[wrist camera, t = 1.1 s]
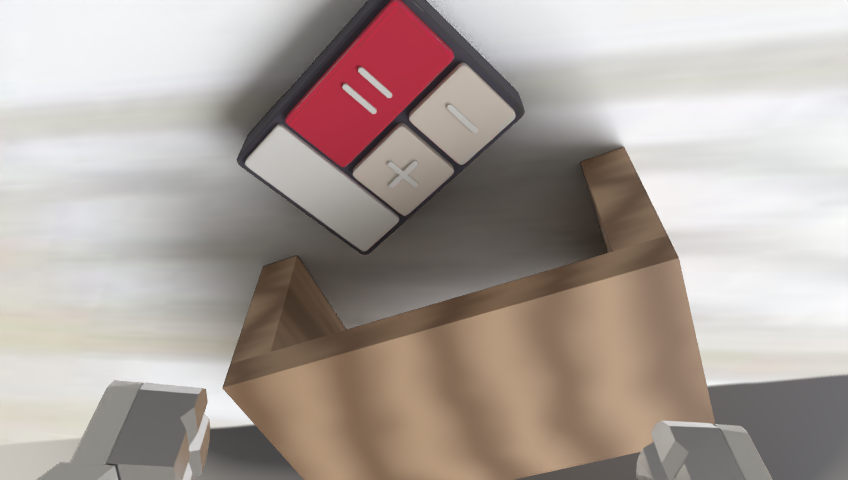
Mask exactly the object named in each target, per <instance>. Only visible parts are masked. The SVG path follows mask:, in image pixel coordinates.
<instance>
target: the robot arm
mask: <svg viewBox="0 0 848 480" xmlns="http://www.w3.org/2000/svg"><path fill="white" fill-rule="evenodd" d="M207 402H208V401H207V394H206V389H203V388H193V387H183V386H173V385H162V384H152V383H140V382H128V381H116V380H114V381H113V382H112V383H111V384H110V385H109V386H108V387H107V389H106V391H105V393H104V395H103V397H102V399H101V401H100V403H99V405H98V407H97V409H96V411H95V413H94V415H93V417H92V419H91V421H90V423H89V425H88V427H87V429H86V431H85V433H84V435H83V437H82V439H81V441H80V443H79V445H78V447H77V449H76V451H75V453H74V455H73V457H72V459H71V461H70V462H60V463H59V464H57V465H56V466H54V467H53V468H52V469H50V470H49V471H47V472H46V473H45V474H43V475H42V476H41V477H39V478H38V479H37V480H194V479H195V478H197V477H198V476H199V475H200V474H201V473H202V472H203V468H204V464H205V461H206V457H207V452H208V446H209V438H210V422H209V418H208V417H207V416H206V415H204V412H205V409H206V405H207ZM651 435H652V438H653V441H654V442H652V443H651V444H649V445H647V446H646V447H644V448H643V449H642V451H641V453H640V455H639V458H638V460H637V470H636V478H637V480H772V478H771V476H770V474H769V472H768V470H767V468H766V467H765V465H764V463H763V461H762V459H761V457H760V455H759V453H758V451H757V449H756V448H755V446H754V444H753V442H752V440H751V438H750V436H749V434H748V433H747V431H746V430H745V429H744V428H743V427H741V426H734V425H720V424H711V423H697V422H679V421H662V420H661V421H660V422H658V423H657V424H655V426H654V428H653V430H652V432H651Z"/></svg>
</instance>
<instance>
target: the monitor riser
mask: <svg viewBox="0 0 848 480" xmlns="http://www.w3.org/2000/svg"><path fill="white" fill-rule="evenodd" d="M581 165H582V169H583V172H584V175H585V179H586V182H587V185H588V189H589V192H590V195H591V199H592V202H593V205H594V209H595V212H596V215H597V219H598V222H599V225H600V229H601V232H602V235H603V239H604V242H605V245H606V248H607V252H608V253H606V254H603V255H599V256H596V257H592V258H589V259H586V260H582V261H579V262H575V263H572V264H569V265H565V266H562V267H558V268H555V269H552V270H548V271H545V272H541V273H538V274H535V275H531V276H528V277H524V278H521V279H518V280H514V281H511V282H507V283H504V284H501V285H497V286H494V287H490V288H487V289H484V290H480V291H477V292H473V293H470V294H467V295H463V296H460V297H456V298H453V299H450V300H446V301H443V302H439V303H436V304H433V305H429V306H426V307H422V308H419V309H416V310H412V311H409V312H405V313H402V314H399V315H395V316H392V317H388V318H385V319H382V320H378V321H375V322H371V323H368V324H364V325H361V326H358V327H354V328H351V329H347V330H346V328H345V327H344V325H343V324H342V322H341V321H340V319H339V318H338V316H337V315H336V313H335V312H334V310H333V309H332V307H331V306H330V304H329V303H328V301H327V300H326V298H325V297H324V295H323V294H322V292H321V291H320V289H319V288H318V286H317V285H316V283H315V282H314V280H313V278H312V277H311V275H310V274H309V272H308V271H307V269H306V268H305V266H304V265H303V263H302V262H301V260H300V259H299V257H298V256H294V257H291V258H288V259H285V260H282V261H279V262H276V263H273V264H270V265H267V266H264V267H263V268H262V271H261V274H260V277H259V280H258V283H257V286H256V289H255V292H254V295H253V298H252V301H251V304H250V307H249V310H248V313H247V316H246V319H245V322H244V325H243V328H242V331H241V334H240V337H239V340H238V343H237V346H236V349H235V352H234V355H233V358H232V361H231V364H230V367H229V370H228V373H227V376H226V379H225V382H224V385H223V389H224V390H225V392H226V393H227V394H228V395H229V396H230V397H231V398H232V399H233V400H234V402H235V403H236V404H237V405H238V406H239V407H240V408H241V409H242V411H243V412H244V413H245V414H246V415H247V416H248V417H249V418H250V420H251V421H252V422H253V423H254V424H255V425H256V426H257V427H258V428H259V430H260V431H261V432H262V433H263V434H264V435H265V436H266V437H267V439H268V440H269V441H270V442H271V443H272V444H273V445H274V446H275V448H277V450H278V451H279V452H280V453H281V454H282V455H283V457H284V458H285V459H286V460H287V461H288V462H289V463H290V464H291V465H292V467H293V468H294V469H295V470H296V471H297V472H298V473H299V474H300V476H301V477H302V478H303V479H304V480H513V479H517V478H522V477H527V476H531V475H536V474H541V473H545V472H550V471H554V470H558V469H563V468H568V467H572V466H577V465H582V464H586V463H591V462H596V461H600V460H605V459H609V458H614V457H618V456H623V455H628V454H632V453H637V452H641V451H642V449H643V448H644V447H646V446H647V445H649V444H651V443H652V442H654V441H653V438H652V435H651V432H652V430H653V428H654V426H655V424H657V423H658V422H660V421H661V420H662V421H679V422H697V423H711V424H715V421H714V417H713V412H712V407H711V402H710V398H709V393H708V389H707V384H706V380H705V375H704V371H703V366H702V362H701V357H700V352H699V348H698V343H697V339H696V334H695V330H694V325H693V321H692V316H691V312H690V307H689V302H688V298H687V293H686V289H685V284H684V280H683V275H682V271H681V266H680V261H679V258H678V256H677V254H676V251H675V249H674V247H673V245H672V243H671V241H670V239H669V237H668V235H667V233H666V231H665V229H664V227H663V225H662V223H661V221H660V219H659V217H658V215H657V213H656V211H655V209H654V207H653V205H652V203H651V201H650V199H649V197H648V195H647V192H646V190H645V188H644V186H643V184H642V182H641V180H640V178H639V176H638V174H637V172H636V170H635V168H634V166H633V164H632V162H631V160H630V158H629V156H628V154H627V152H626V150H625V148H624V147H623V148H620V149H617V150H614V151H611V152H608V153H605V154H602V155H599V156H596V157H593V158H590V159H587V160H584V161H581Z"/></svg>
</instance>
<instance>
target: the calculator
mask: <svg viewBox="0 0 848 480" xmlns="http://www.w3.org/2000/svg"><path fill="white" fill-rule="evenodd" d="M523 115H524V107H523V104H522V102H521V99H520V96H519V94H518V92H517V91H516V90H515V89H514V88H513V87H512V86H511V85H510V84H509V83H508V82H507V81H506V80H505V79H504V78H503V77H502V76H501V75H500V74H499V73H498V72H497V71H496V70H495V69H494V68H493V67H492V66H491V65H490V64H489V63H488V62H487V61H486V60H485V59H484V58H483V57H482V56H481V55H480V54H479V53H478V52H477V51H476V50H475V49H474V48H473V47H472V46H471V45H470V44H469V43H468V42H467V41H466V40H465V39H464V38H463V37H462V36H461V35H460V34H459V33H458V32H457V31H456V30H455V29H454V28H453V27H452V26H451V25H450V24H449V23H448V22H447V21H446V20H445V19H444V18H443V17H442V16H441V15H440V14H439V13H438V12H437V11H436V10H435V9H434V8H433V7H432V6H431V5H430V4H429V3H428V2H427V1H426V0H368V1H367V2H366V4H365V5H364V6H363V7H362V8H361V9H360V10H359V11H358V13H357V14H356V15H355V16H354V17H353V18H352V19H351V20H350V22H349V23H348V24H347V25H346V26H345V27H344V28H343V30H342V31H341V32H340V33H339V34H338V35H337V36H336V37H335V39H334V40H333V41H332V42H331V43H330V44H329V45H328V46H327V48H326V49H325V50H324V51H323V52H322V53H321V54H320V56H319V57H318V58H317V59H316V60H315V61H314V62H313V63H312V65H311V66H310V67H309V68H308V69H307V70H306V71H305V72H304V74H303V75H302V76H301V77H300V78H299V79H298V80H297V82H296V83H295V84H294V85H293V86H292V87H291V88H290V89H289V91H288V92H287V93H286V94H285V95H284V96H283V97H281V98H280V99H279V100H278V102H277V103H276V104H275V105H274V106H273V107H272V108H271V109H270V110H269V112H268V113H267V114H266V115H265V116H264V117H263V118H262V119H261V120H260V122H259V123H258V124H257V125H256V126H255V127H254V128H253V129H252V131H251V132H250V133H249V134H248V136H247V138H246V140H245V142H244V144H243V147H242V149H241V151H240V153H239V155H238V158H237V162H238V164H239V165H240V166H241V167H243V168H244V169H245V170H247V171H248V172H249V173H251V174H252V175H254V176H255V177H256V178H258V179H259V180H260V181H262V182H263V183H265V184H266V185H267V186H269V187H270V188H271V189H273V190H274V191H276V192H277V193H278V194H280V195H281V196H282V197H284V198H285V199H287V200H288V201H289V202H291V203H292V204H293V205H295V206H296V207H297V208H299V209H300V210H302V211H303V212H304V213H306V214H307V215H308V216H310V217H311V218H313V219H314V220H315V221H317V222H318V223H319V224H321V225H322V226H324V227H325V228H326V229H328V230H329V231H330V232H332V233H333V234H335V235H336V236H337V237H339V238H340V239H341V240H343V241H344V242H345V243H347V244H348V245H350V246H351V247H352V248H354V249H355V250H356V251H358V252H359V253H361V254H363V255H366V254H369V253H370V252H371V251H373V250H374V249H375V248H376V247H377V246H378V245H379V244H380V243H382V242H383V241H384V240H385V239H386V238H387V237H388V236H389V235H390V234H392V233H393V232H394V231H395V230H396V229H397V228H398V227H399V226H401V225H402V224H403V223H404V222H405V221H406V220H407V219H408V218H409V217H411V216H412V215H413V214H414V213H415V212H416V211H417V210H418V209H420V208H421V207H422V206H423V205H424V204H425V203H426V202H427V201H428V200H430V199H431V198H432V197H433V196H434V195H435V194H436V193H437V192H439V191H440V190H441V189H442V188H443V187H444V186H445V185H446V184H447V183H449V182H450V181H451V180H452V179H453V178H454V177H455V176H456V175H458V174H459V173H460V172H461V171H462V170H463V169H464V168H465V167H466V166H468V165H469V164H470V163H471V162H472V161H473V160H474V159H475V158H477V157H478V156H479V155H480V154H481V153H482V152H483V151H484V150H485V149H487V148H488V147H489V146H490V145H491V144H492V143H493V142H494V141H496V140H497V139H498V138H499V137H500V136H501V135H502V134H503V133H504V132H506V131H507V130H508V129H509V128H510V127H511V126H512V125H513V124H515V123H516V122H517V121H518V120H519V119H520V118H521V117H522V116H523Z"/></svg>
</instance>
